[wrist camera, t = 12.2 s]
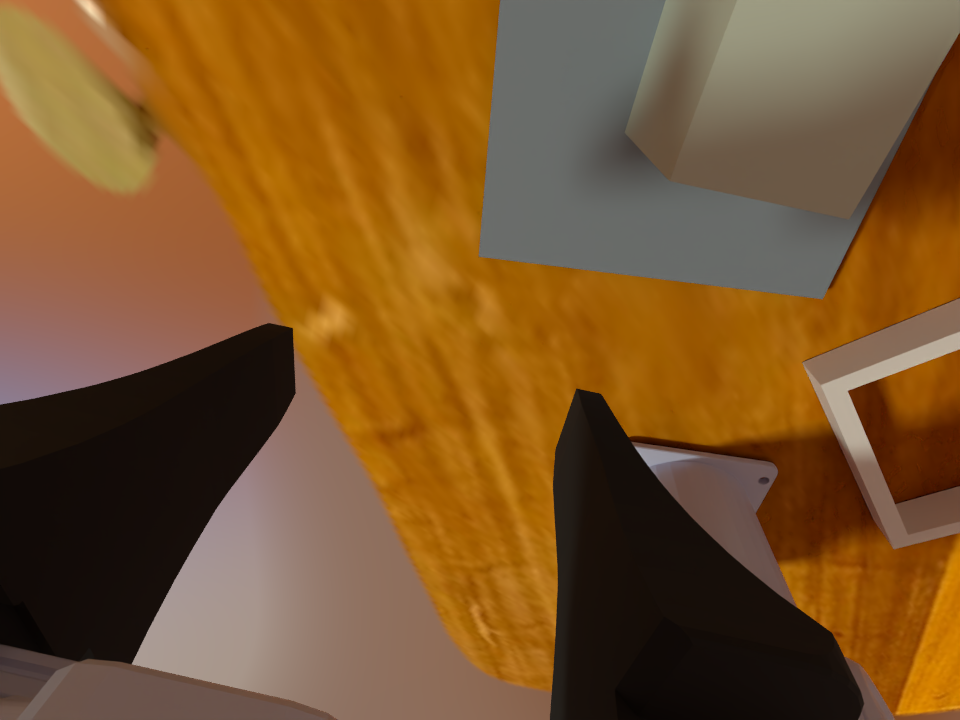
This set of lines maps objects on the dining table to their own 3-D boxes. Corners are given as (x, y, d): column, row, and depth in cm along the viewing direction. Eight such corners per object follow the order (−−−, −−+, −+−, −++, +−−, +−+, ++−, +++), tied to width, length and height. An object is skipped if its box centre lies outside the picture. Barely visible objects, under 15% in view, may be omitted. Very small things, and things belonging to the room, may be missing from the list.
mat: (815, 292, 20) (822, 298, 20) (480, 251, 21) (478, 256, 21) (1057, -200, 13) (1077, -210, 12) (521, -232, 14) (520, -242, 13)
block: (792, 21, 15) (981, -5, 9) (734, 156, 17) (848, 219, 11) (667, -5, 15) (756, -52, 9) (624, 132, 18) (669, 180, 11)
